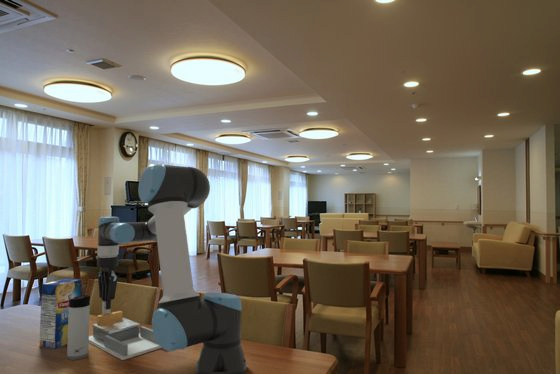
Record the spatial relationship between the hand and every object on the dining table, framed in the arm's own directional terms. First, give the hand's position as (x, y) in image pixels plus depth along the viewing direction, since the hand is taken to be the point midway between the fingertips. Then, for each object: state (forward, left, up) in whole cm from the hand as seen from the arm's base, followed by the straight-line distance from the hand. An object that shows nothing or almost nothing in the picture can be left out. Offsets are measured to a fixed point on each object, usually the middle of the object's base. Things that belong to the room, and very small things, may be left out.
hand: (106, 317), depth 149 cm
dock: (-14, 0, -7) cm, 16 cm away
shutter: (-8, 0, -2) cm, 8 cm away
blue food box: (+4, +15, -7) cm, 17 cm away
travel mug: (-14, +16, -7) cm, 22 cm away
